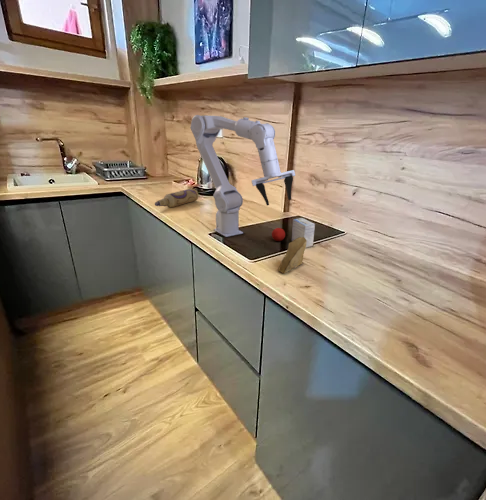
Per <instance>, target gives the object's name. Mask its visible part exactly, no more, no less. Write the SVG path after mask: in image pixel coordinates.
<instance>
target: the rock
mask: <svg viewBox="0 0 486 500" xmlns="http://www.w3.org/2000/svg"><path fill="white" fill-rule="evenodd" d="M306 243H307V241H306V239H305V238H304V237H299V238H297V239H295V240H293V241H292V240H291V242H289V243H288V247H287V250H286V252H285V255H284V256H283V258H282V260H281V264H280V266H279V267H278V270H277V271H278V272H280V273H282V274H286V273H288V272H289V271H291V270H293V269H296V268H297V267H298V266H301V265H302V264H303V261H304V254H305V252H306V248H307V247H306Z"/></svg>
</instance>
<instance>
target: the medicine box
mask: <svg viewBox="0 0 486 500" xmlns="http://www.w3.org/2000/svg"><path fill="white" fill-rule="evenodd" d="M315 227H316V223H314V222H312V221H310V220H308V219H306V218H303V217H299V218H294V219H292V228H291V229H292V231H291V242H292V241H293V240H295V239H297V238H299V237H304V238H305V239H306V241H307V243H306V248H309V247H313V246H314V238H315Z"/></svg>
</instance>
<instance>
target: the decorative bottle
mask: <svg viewBox="0 0 486 500" xmlns="http://www.w3.org/2000/svg"><path fill="white" fill-rule="evenodd" d="M198 200H199V192H198V190H196V189H195V188H187V189H184V190H183V189H182V190H179V191H175V192H171V193H167V194H165V195H164V197H163V198H161V199H159V200H156V201H155V202H154V206H155V207H169V208H174V207H179V206H181V205H184V204H185V205H186V204H187V203H192V202H197V201H198Z"/></svg>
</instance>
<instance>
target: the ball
mask: <svg viewBox="0 0 486 500" xmlns="http://www.w3.org/2000/svg"><path fill="white" fill-rule="evenodd" d="M285 237H286V232H285V230H284V229H283V228H281V227H276V228H274V229H272V231H271V238H272V240H273V241H276V242H282V241H283V240H284V239H285Z"/></svg>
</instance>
